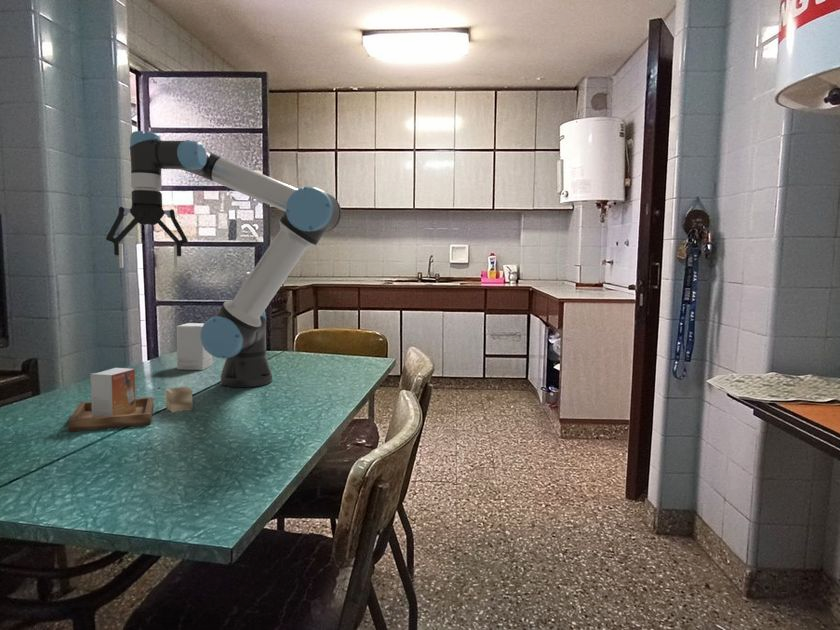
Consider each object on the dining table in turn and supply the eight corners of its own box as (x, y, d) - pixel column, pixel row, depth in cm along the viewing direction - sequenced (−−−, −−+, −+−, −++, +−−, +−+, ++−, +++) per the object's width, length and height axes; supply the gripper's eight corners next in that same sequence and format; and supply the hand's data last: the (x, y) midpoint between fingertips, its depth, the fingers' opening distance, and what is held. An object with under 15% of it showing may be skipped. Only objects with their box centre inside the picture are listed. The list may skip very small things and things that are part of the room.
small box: (112, 420, 125) (110, 375, 124) (91, 418, 126) (89, 373, 125) (136, 411, 133) (135, 368, 132) (116, 409, 134) (115, 367, 133)
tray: (153, 406, 140) (153, 397, 140) (150, 424, 126) (150, 413, 125) (80, 412, 134) (80, 402, 134) (68, 431, 119) (68, 420, 119)
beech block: (186, 405, 143) (186, 386, 142) (192, 409, 139) (192, 390, 138) (166, 408, 139) (165, 389, 139) (171, 412, 136) (170, 393, 135)
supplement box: (203, 370, 185) (202, 326, 183) (176, 369, 185) (175, 325, 183) (213, 365, 194) (212, 323, 192) (188, 364, 194) (187, 322, 192)
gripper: (195, 194, 160) (196, 268, 162) (96, 188, 150) (99, 267, 152) (196, 192, 153) (197, 268, 155) (92, 185, 143) (95, 267, 145)
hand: (149, 268), depth 154 cm, fingers open, 13 cm apart
